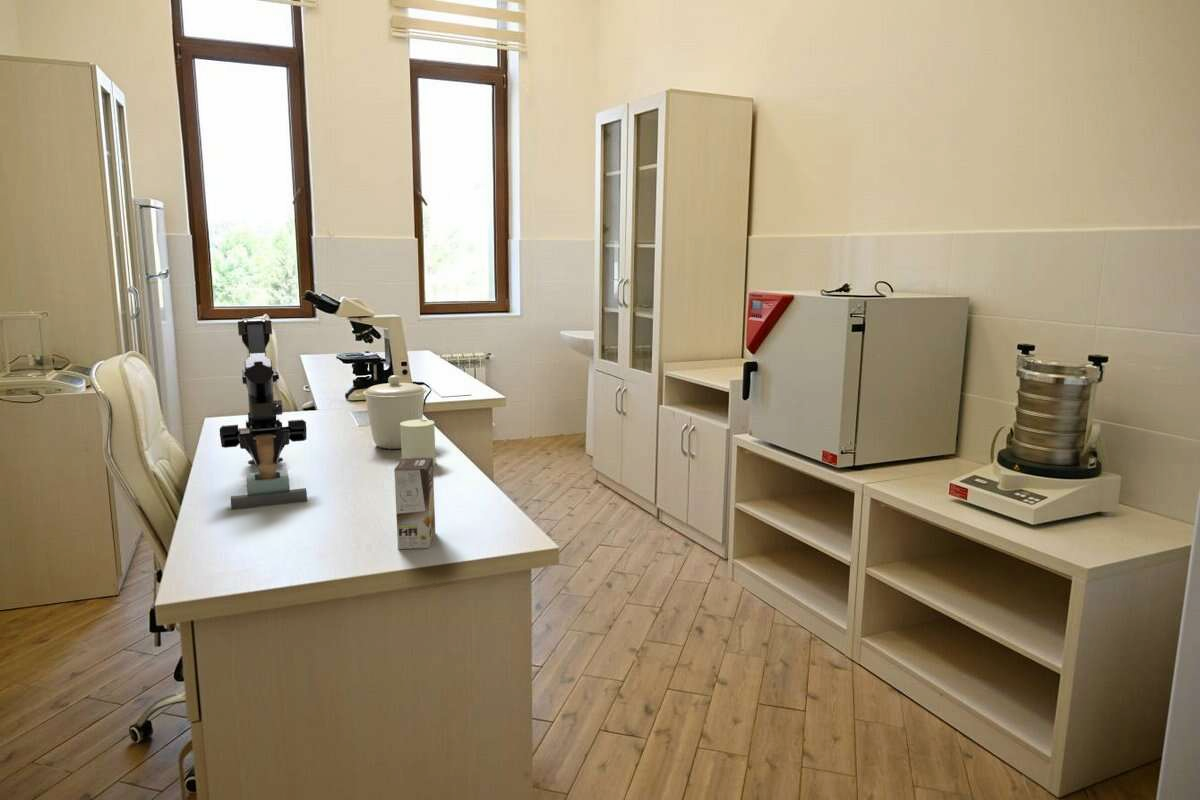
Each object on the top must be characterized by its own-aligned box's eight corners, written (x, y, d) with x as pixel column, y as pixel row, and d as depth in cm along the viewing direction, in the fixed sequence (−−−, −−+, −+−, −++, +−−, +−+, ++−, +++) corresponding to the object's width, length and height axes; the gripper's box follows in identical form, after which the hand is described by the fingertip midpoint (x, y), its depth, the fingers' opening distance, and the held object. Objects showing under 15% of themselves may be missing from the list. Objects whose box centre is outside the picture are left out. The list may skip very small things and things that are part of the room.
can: (442, 461, 219) (441, 418, 217) (424, 470, 211) (423, 425, 209) (413, 458, 222) (411, 416, 220) (394, 467, 214) (392, 423, 212)
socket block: (248, 493, 190) (246, 473, 189) (288, 489, 194) (287, 469, 193) (248, 504, 182) (246, 483, 181) (290, 499, 186) (289, 478, 185)
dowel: (258, 489, 187) (253, 435, 185) (274, 486, 189) (269, 433, 187) (263, 493, 184) (258, 438, 182) (279, 490, 187) (275, 436, 184)
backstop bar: (231, 507, 180) (230, 496, 180) (306, 498, 187) (305, 488, 186) (231, 509, 179) (230, 498, 178) (307, 500, 185) (306, 490, 184)
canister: (433, 449, 233) (430, 378, 229) (369, 455, 226) (365, 381, 222) (423, 436, 249) (420, 369, 245) (363, 441, 243) (359, 372, 239)
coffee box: (430, 548, 155) (427, 469, 152) (397, 549, 155) (393, 469, 152) (436, 532, 164) (433, 456, 161) (404, 533, 164) (401, 457, 161)
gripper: (216, 391, 182) (219, 449, 174) (303, 386, 190) (309, 441, 182) (220, 418, 191) (223, 475, 183) (303, 412, 198) (309, 466, 190)
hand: (266, 463), depth 184 cm, fingers closed on dowel, 4 cm apart
